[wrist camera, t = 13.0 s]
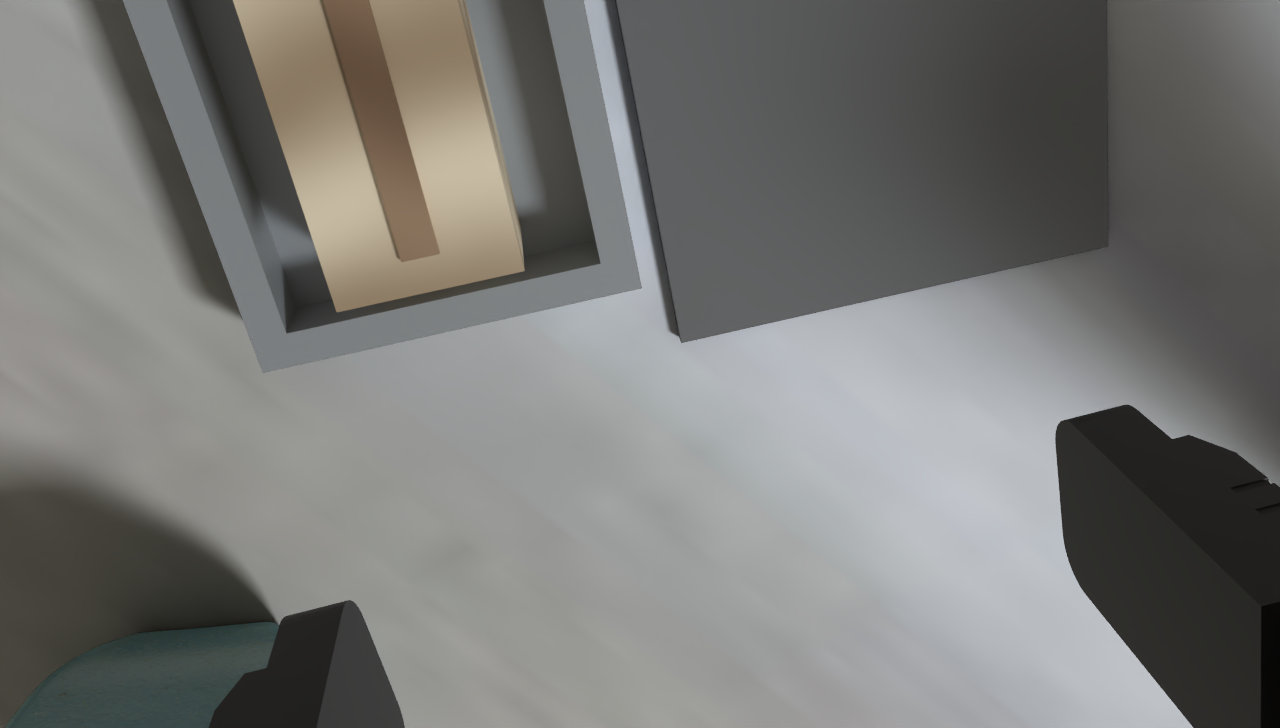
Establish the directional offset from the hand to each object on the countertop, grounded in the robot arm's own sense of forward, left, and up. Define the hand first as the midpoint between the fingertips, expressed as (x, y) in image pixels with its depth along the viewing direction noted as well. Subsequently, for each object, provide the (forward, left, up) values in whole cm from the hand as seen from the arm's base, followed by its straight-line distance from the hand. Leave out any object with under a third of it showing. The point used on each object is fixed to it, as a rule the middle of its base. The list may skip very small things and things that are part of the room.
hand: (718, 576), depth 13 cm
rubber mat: (+2, -9, -22) cm, 24 cm away
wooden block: (+4, +5, -22) cm, 22 cm away
